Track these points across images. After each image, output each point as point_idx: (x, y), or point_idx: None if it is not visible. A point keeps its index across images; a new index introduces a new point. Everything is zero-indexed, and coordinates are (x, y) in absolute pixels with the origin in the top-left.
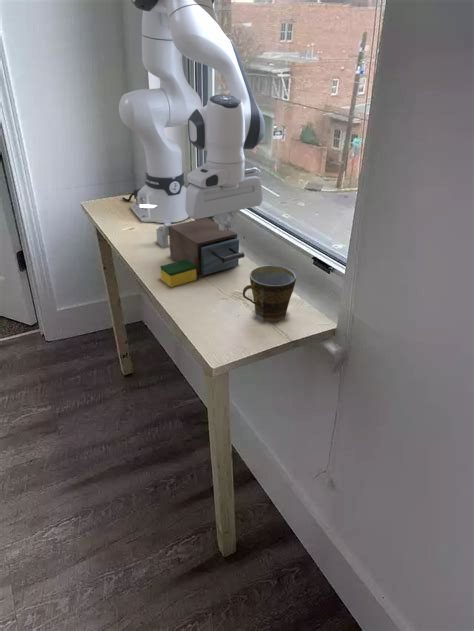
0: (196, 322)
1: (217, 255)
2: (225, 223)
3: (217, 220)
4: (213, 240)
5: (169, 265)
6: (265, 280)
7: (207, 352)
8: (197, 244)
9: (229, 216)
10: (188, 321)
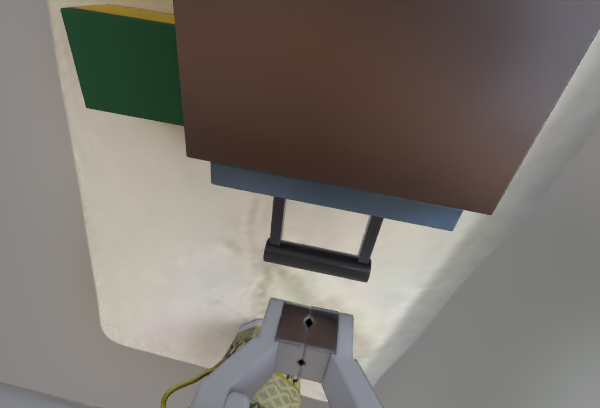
0: (125, 264)
1: (272, 214)
2: (282, 371)
3: (236, 355)
4: (301, 177)
5: (103, 37)
6: (269, 385)
7: (109, 321)
8: (189, 153)
9: (345, 404)
10: (111, 252)
